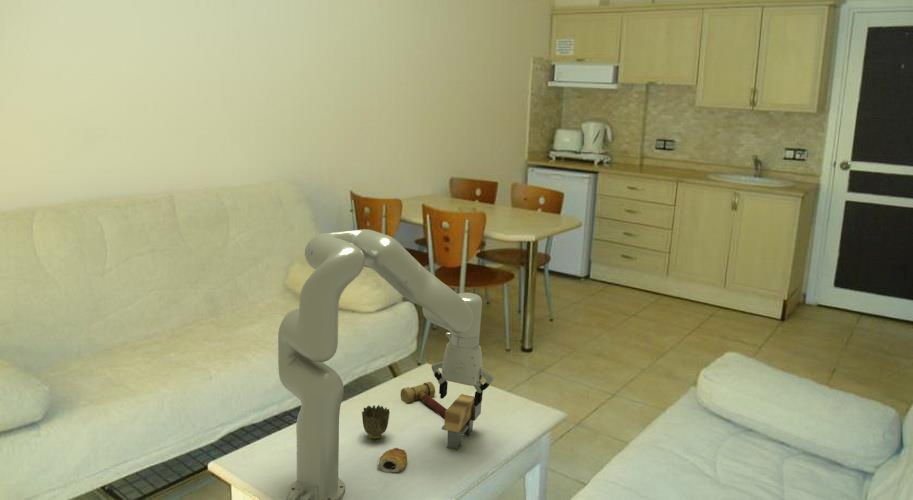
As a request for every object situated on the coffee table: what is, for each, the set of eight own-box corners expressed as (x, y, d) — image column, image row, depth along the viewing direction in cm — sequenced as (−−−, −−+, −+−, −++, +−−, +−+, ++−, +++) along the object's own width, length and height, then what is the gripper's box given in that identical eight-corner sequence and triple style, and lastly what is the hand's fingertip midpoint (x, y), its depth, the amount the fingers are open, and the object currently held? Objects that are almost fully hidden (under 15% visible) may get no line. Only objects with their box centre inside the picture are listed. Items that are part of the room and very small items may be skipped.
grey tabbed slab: (461, 452, 187) (463, 432, 186) (440, 447, 189) (441, 427, 188) (467, 446, 191) (468, 425, 190) (446, 441, 193) (447, 420, 192)
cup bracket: (473, 439, 195) (475, 407, 193) (451, 434, 197) (453, 402, 195) (479, 431, 200) (481, 399, 197) (458, 426, 202) (459, 395, 200)
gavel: (468, 409, 206) (440, 417, 200) (467, 423, 208) (439, 432, 202) (427, 379, 222) (400, 386, 216) (426, 392, 223) (399, 399, 217)
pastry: (387, 453, 186) (387, 439, 185) (412, 457, 185) (412, 443, 184) (376, 471, 177) (376, 457, 176) (402, 476, 176) (402, 462, 175)
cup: (384, 446, 189) (384, 418, 187) (357, 442, 190) (358, 415, 188) (392, 433, 196) (393, 406, 194) (366, 429, 197) (367, 403, 195)
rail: (458, 432, 186) (459, 414, 185) (444, 429, 187) (445, 411, 186) (473, 413, 197) (474, 396, 196) (460, 410, 198) (461, 394, 197)
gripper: (428, 338, 187) (424, 399, 190) (491, 350, 181) (486, 413, 184) (439, 330, 193) (435, 389, 197) (500, 341, 188) (495, 402, 191)
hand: (460, 400), depth 191 cm, fingers open, 9 cm apart
